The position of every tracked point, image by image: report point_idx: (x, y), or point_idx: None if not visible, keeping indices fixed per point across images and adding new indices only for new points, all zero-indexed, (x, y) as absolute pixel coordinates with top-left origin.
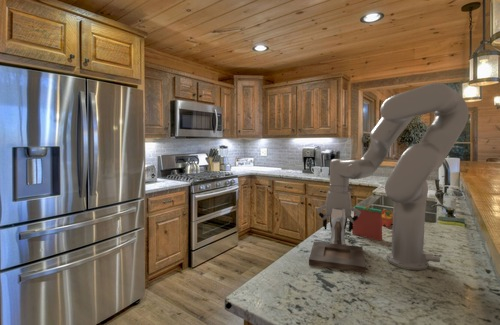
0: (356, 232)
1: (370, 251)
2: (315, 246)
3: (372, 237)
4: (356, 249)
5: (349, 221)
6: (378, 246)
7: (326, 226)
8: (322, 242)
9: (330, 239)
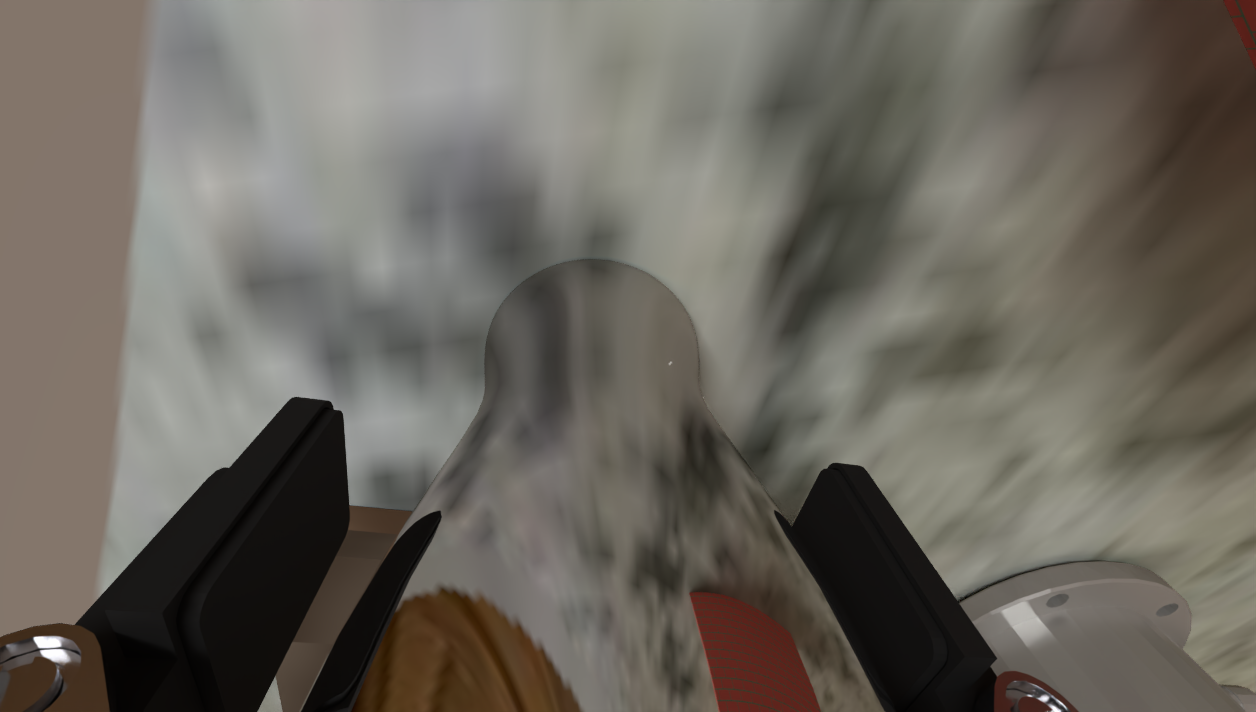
0: None
1: None
2: (304, 657)
3: None
4: None
5: (914, 690)
6: (1068, 389)
7: (323, 540)
8: (368, 560)
9: (484, 373)
